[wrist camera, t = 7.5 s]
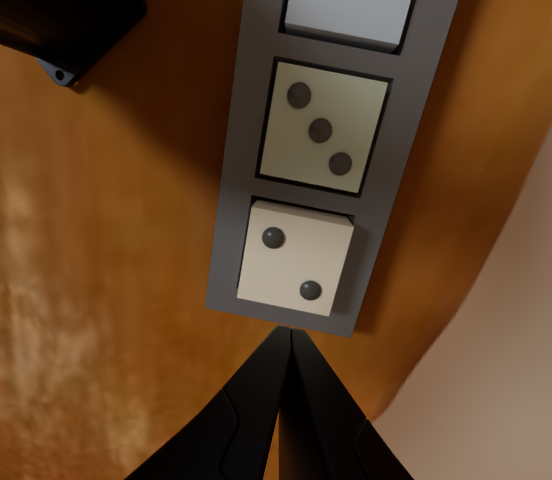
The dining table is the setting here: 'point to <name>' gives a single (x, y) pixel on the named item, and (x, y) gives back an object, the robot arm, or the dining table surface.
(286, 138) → the three dot key
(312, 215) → the two dot key
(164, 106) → the dining table surface
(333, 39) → the one dot key
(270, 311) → the grey flat block
